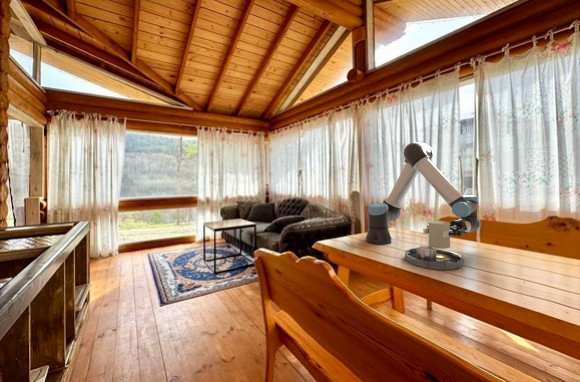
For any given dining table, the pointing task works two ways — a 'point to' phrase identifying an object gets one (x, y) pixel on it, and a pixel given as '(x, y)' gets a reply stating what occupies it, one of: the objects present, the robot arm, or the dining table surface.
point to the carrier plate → (435, 265)
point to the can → (438, 234)
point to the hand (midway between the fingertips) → (433, 233)
